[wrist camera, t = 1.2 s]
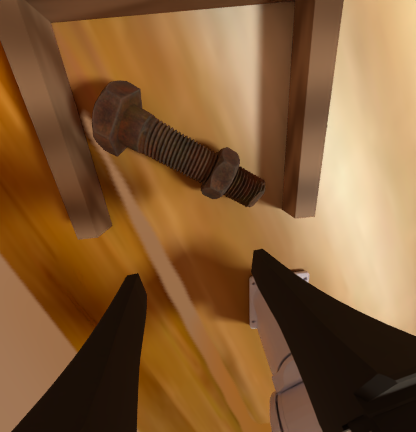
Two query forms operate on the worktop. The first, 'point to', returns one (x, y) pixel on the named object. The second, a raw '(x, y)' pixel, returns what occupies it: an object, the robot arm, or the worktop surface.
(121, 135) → the bolt
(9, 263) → the worktop surface
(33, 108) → the u-shaped bracket
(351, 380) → the robot arm
